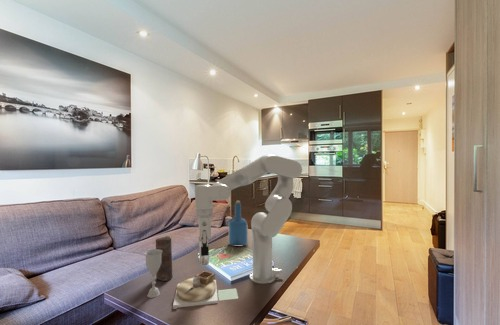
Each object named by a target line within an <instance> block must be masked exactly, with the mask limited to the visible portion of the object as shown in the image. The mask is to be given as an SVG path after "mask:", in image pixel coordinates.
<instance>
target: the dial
mask: <svg viewBox="0 0 500 325" xmlns="http://www.w3.org/2000/svg"><path fill="white" fill-rule="evenodd" d="M214 280H216V273H215V272H211V271H207V270H203V271H201V272H200V273H198V274H196V275H194V276H193V277H190V278H187V279H185V280H183V281H181V282H179V283H180V284H179V285H178V284H177V286H178V287H176V290H177V296H178V297H179V298H180V299H181V300H184V301H191V302H193V301H200V300H204V299H207V298H209V297H210V296H212V295H213V294H214V292H215V290H216V286H217V283H216V284H215V281H214Z"/></svg>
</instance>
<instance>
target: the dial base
mask: <svg viewBox="0 0 500 325" xmlns="http://www.w3.org/2000/svg"><path fill="white" fill-rule="evenodd" d="M214 281H215V284H216V290H215V292H214V294H213V295H212V296H210V297H209V298H207V299H204V300H200V301H193V302H191V301H184V300H181V299H180V298H179V297H178V296H177V289H176V290H175V296H174V299H173V305H172V310H177V309H178V308H185V307H195V306H203V305H211V304H218V302H219V297H218V289H217V279H214ZM180 283H181V282H179V283H177V285H176V286H177V287H178V285H179V284H180ZM177 287H176V288H177Z"/></svg>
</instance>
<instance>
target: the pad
mask: <svg viewBox="0 0 500 325" xmlns="http://www.w3.org/2000/svg"><path fill="white" fill-rule="evenodd" d="M238 295H239V294H238V290H237V288H235V287H234V288H228V289H227V288H226V289H217V297H218V302H219V301H228V300H229V301H230V300H237V299H239V296H238Z"/></svg>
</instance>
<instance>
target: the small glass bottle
mask: <svg viewBox="0 0 500 325" xmlns="http://www.w3.org/2000/svg"><path fill="white" fill-rule="evenodd" d="M202 239H203V238H202ZM206 239H207V238H206ZM206 242H207V241H206ZM201 246H202V245H201V240H200V236H199V235H198V249H199V250H198V251H199V252H198V253H199V265H201V266H206V265H209V264H210V254H209V255H207V256H201Z"/></svg>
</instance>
